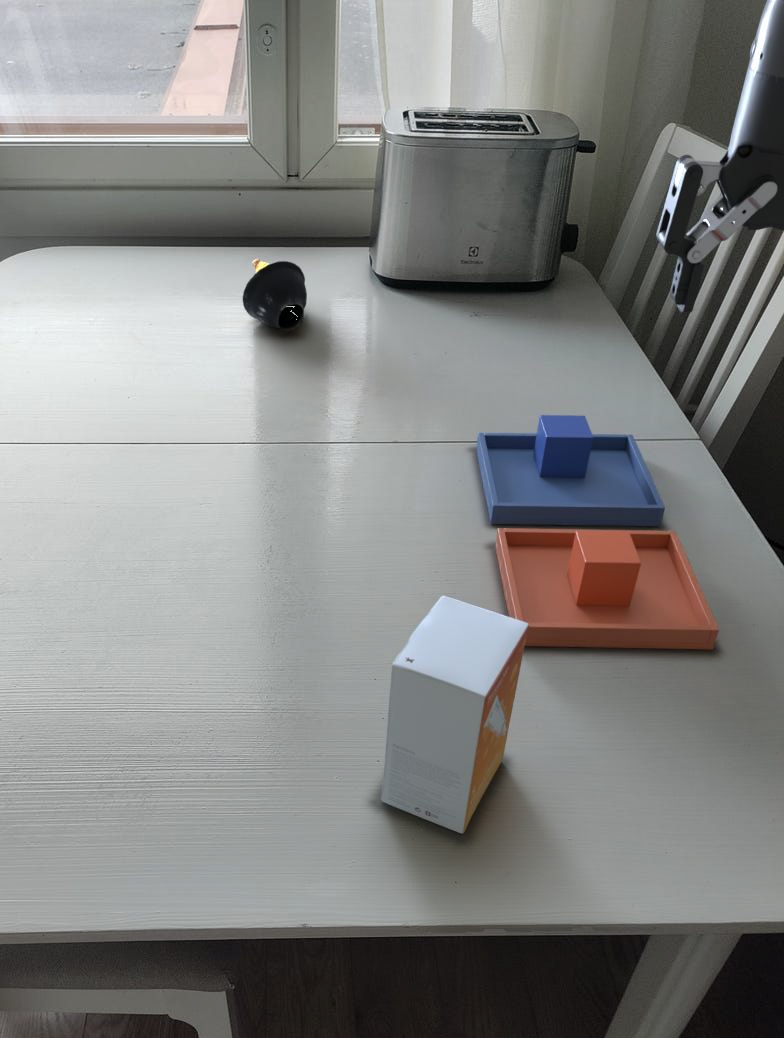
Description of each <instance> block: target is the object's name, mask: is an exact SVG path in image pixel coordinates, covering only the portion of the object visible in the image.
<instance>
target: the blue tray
mask: <svg viewBox="0 0 784 1038" xmlns="http://www.w3.org/2000/svg"><path fill="white" fill-rule="evenodd" d="M536 435H537V432H535V433H534V432H533V433H532V432H531V433H528V432H527V433H525V432H524V433H523V432H477V439H476V448H475V452H476V456H477V462H478V466H479V472H480V476H481V482H482V488H483V492H484V497H485V502H486V507H487V512H488V518H489V522H490V524H491V525H541V526H542V525H543V526H546V525H547V526H548V525H550V526H555V525H556V526H559V525H560V526H608V527H609V526H610V527H611V526H613V527H616V526H617V527H661V525H662V521H663V517H664V514H665V510H666V507H665V505H664V502H663V500H662V498H661V495H660V494H659V491H658V488H657V486H656V485H655V482H654V479H653V478H652V476H651V473H650V471H649V469H648V467H647V463H646V462H645V460H644V457H643V455H642V453H641V451H640V449H639V446H638V443H637V441H636V439H635V437H634V435H633V434H616V433H615V434H614V433H613V434H612V433H611V434H609V433H607V434H606V433H601V434H600V433H592V435H593V442H592V447H591V451H590V456H589V461H588V466H587V471H586V476H585V478H568V477H540V476H539V472H538V469H537V465H536V462H535V458H534V455H533V453H534V447H535V441H536Z"/></svg>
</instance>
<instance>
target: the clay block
mask: <svg viewBox="0 0 784 1038" xmlns="http://www.w3.org/2000/svg"><path fill="white" fill-rule="evenodd" d="M640 566H641V561H640V559H639V556H638V553H637V551H636V548H635V546H634V543H633V540H632V538H631V535H630V533H629V532H590V531H576V534H575V538H574V543H573V548H572V553H571V558H570V562H569V567H568V572H567V575H568V578H569V582H570V585H571V589H572V592H573V596H574V599H575V603H576V605H580V606H630V604H631V600H632V596H633V592H634V589H635V585H636V581H637V577H638V574H639V570H640Z"/></svg>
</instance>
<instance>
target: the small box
mask: <svg viewBox="0 0 784 1038" xmlns="http://www.w3.org/2000/svg"><path fill="white" fill-rule="evenodd" d="M528 628H529V624H528V623H526V622H523V621H520V620H517V619H514V618H511V617H509V615H504V614H502V613H498V612H495V611H492V610H489V609H487V608H483V607H480V606H477V605H473V604H471V603H468V602H465V601H462V600H459V599H456V598H452V597H450V596H446V595H442V596H440V597H439V599H438V600H437V601H436V602H435V604H434V605H433V606H432V608H431V609H430V610H429V612H428V613H427V614H426V616H424V618H423V619H422V620H421V621H420V623H419V624H418V626H417V627H416V628H415V629H414V631H413V632H412V633H411V635H410V637H409V638H408V641H407V642H406V644H405V645H404V646H403V648H402V649H401V651H400V652H399V654H398V655H397V656H396V658H395V659H394V660H393V662H392V664H391V672H390V685H389V697H388V709H387V721H386V722H387V723H386V738H385V749H384V750H385V751H384V752H385V753H384V762H383V773H382V774H383V775H382V784H381V797H380V800H381V802H382V803H385V804H387V805H389V806H391V807H393V808H397V809H399V810H401V811H404V812H406V813H409V814H412V815H414V816H416V817H419V818H421V819H423V820H425V821H428V822H430V823H434V824H436V825H438V826H441V827H443V828H445V829H449V830H451V831H453V832H456V833H459V834H465V832H466V830H467V828H468V826H469V823H470V822H471V819H472V817H473V816H474V813H475V811H476V809H477V807H478V805H479V804H480V801H481V800H482V798H483V796H484V794H485V792H486V790H487V788H488V786H489V785H490V783H491V781H492V779H493V777H494V776H495V774H496V773H497V771H498V768H499V767H500V765H501V763H502V762H503V759H504V754H505V750H506V743H507V739H508V733H509V728H510V724H511V723H510V722H511V717H512V713H513V709H514V702H515V697H516V694H517V693H516V692H517V688H518V681H519V678H520V672H521V666H522V661H523V657H524V652H525V647H526V646H525V642H526V637H527V632H528Z"/></svg>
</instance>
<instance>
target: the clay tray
mask: <svg viewBox="0 0 784 1038" xmlns="http://www.w3.org/2000/svg"><path fill="white" fill-rule="evenodd" d="M576 531H590V532H629V533H630V535H631V538H632V540H633V543H634V546H635V548H636V551H637V553H638V556H639V559H640V561H641V566H640V570H639V574H638V577H637V581H636V585H635V589H634V592H633V596H632V600H631V604H630V606H580V605H576V603H575V599H574V596H573V592H572V589H571V585H570V582H569V578H568V575H567V572H568V567H569V562H570V558H571V553H572V548H573V543H574V538H575V534H576ZM495 538H496V539H495V546H494V548H495V553H496V559H497V564H498V568H499V573H500V579H501V583H502V589H503V595H504V599H505V605H506V610H507V616H508V617H511V618H514V619H517V620H520V621H523V622H526V623H528V624H529V628H528V632H527V637H526V642H525V647H558V648H560V647H561V648H563V647H564V648H608V649H609V648H610V649H611V648H612V649H613V648H615V649H616V648H617V649H620V648H621V649H663V650H664V649H668V650H672V649H673V650H713V649H714V647H715V644H716V641H717V638H718V636H719V634H720V633H719V632H720V628H719V626H718V623H717V622H716V620H715V617H714V614H713V612H712V611H711V608H710V606H709V604H708V601H707V599H706V597H705V595H704V593H703V590H702V588H701V586H700V583H699V582H698V579H697V577H696V574H695V572H694V570H693V568H692V565H691V563H690V561H689V559H688V556H687V554H686V552H685V550H684V547H683V546H682V545H683V544H682V543H681V541H680V539H679V535H678V533H677V531H675V530H638V529H637V530H635V529H634V530H633V529H631V530H629V529H577V528H576V529H575V528H574V529H573V528H570V529H569V528H509V527H508V528H504V527H503V528H500V527H499V528H497V532H496V537H495Z"/></svg>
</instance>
